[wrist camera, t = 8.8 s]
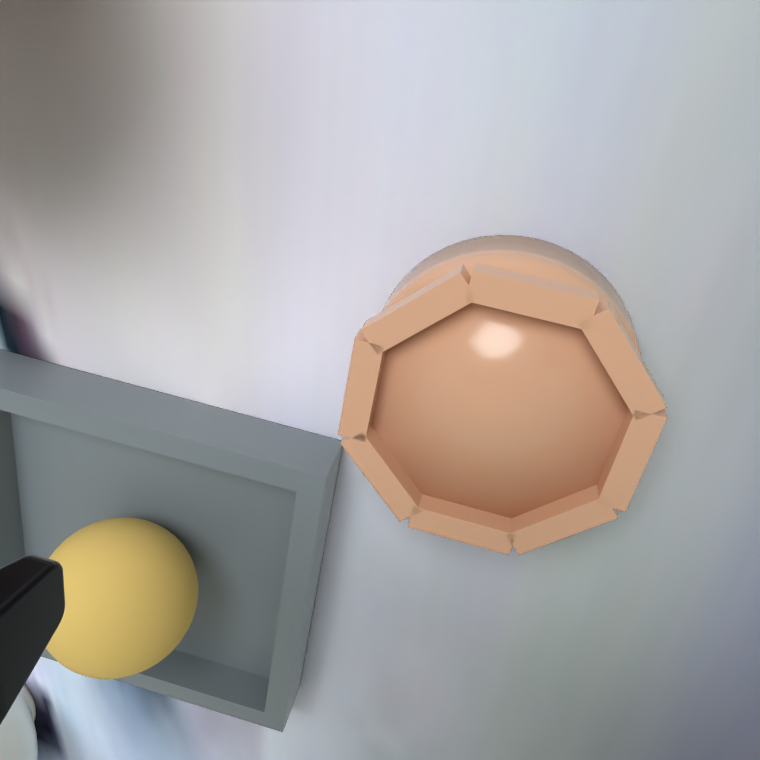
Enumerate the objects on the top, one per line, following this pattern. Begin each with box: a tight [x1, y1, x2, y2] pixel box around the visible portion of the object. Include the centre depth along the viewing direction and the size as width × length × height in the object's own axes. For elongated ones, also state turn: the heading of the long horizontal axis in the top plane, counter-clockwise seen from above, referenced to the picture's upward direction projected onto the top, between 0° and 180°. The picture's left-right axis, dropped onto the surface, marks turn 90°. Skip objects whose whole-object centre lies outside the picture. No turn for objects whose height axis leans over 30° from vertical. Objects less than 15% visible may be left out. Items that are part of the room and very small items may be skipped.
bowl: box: [338, 235, 667, 555], centre depth 18 cm, size 7×7×4 cm
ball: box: [46, 517, 198, 679], centre depth 23 cm, size 5×5×5 cm
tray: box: [0, 349, 342, 732], centre depth 25 cm, size 12×12×2 cm
